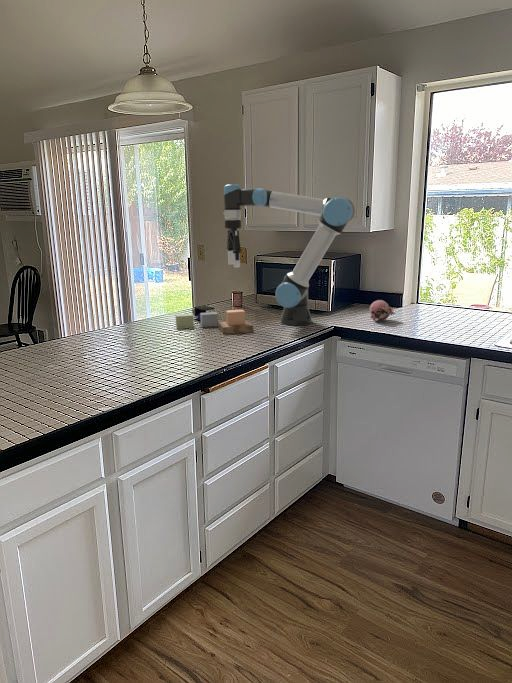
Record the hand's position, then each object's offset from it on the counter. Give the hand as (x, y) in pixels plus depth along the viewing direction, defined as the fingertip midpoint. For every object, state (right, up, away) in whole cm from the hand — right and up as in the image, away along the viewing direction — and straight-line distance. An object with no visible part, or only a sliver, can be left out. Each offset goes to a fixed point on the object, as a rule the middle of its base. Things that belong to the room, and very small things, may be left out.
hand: (234, 266), depth 246 cm
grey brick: (-12, -28, +9) cm, 32 cm away
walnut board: (+1, -30, -2) cm, 30 cm away
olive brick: (-24, -29, +6) cm, 38 cm away
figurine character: (-16, -25, +21) cm, 37 cm away
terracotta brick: (+1, -27, -2) cm, 27 cm away
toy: (+72, -26, +10) cm, 77 cm away
